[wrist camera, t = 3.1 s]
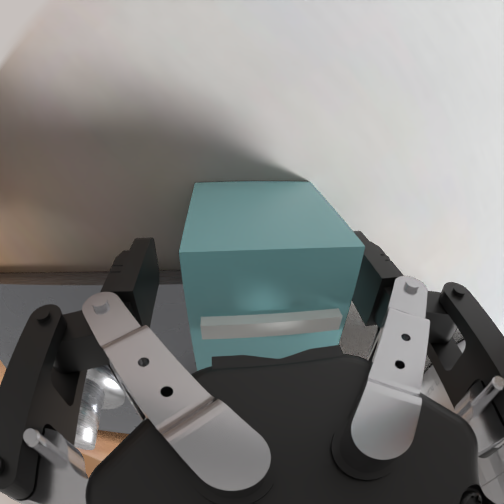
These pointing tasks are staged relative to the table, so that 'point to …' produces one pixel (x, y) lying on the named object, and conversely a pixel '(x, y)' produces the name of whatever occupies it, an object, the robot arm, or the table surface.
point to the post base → (101, 379)
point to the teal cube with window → (265, 269)
